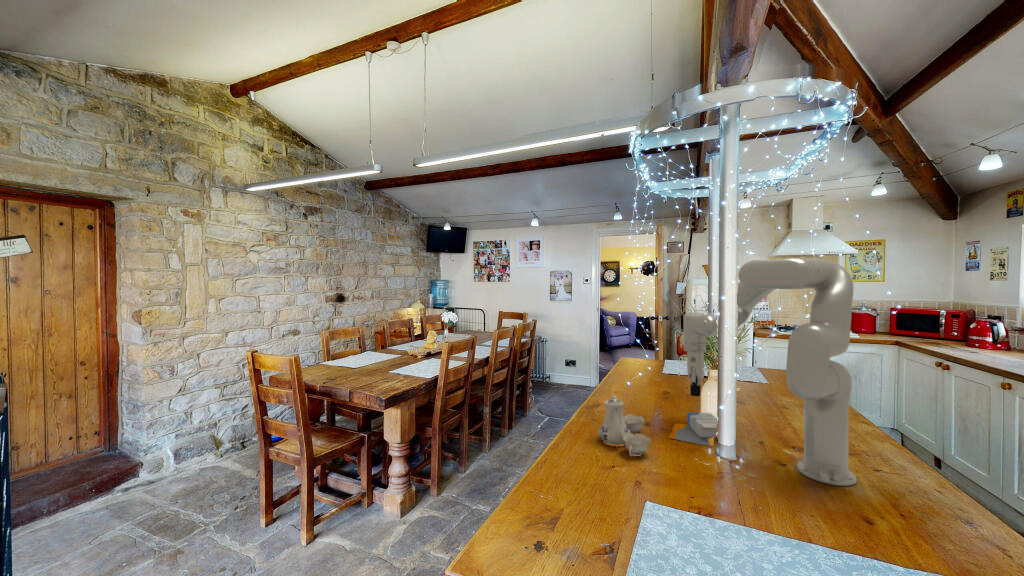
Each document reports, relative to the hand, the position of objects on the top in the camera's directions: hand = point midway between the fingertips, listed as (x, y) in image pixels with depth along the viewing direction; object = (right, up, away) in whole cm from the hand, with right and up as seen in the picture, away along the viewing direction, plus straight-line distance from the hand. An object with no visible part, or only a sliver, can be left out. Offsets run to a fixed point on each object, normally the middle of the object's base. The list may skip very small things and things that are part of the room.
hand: (695, 395), depth 143 cm
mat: (-5, -12, -7) cm, 14 cm away
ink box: (+1, -9, 0) cm, 9 cm away
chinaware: (-30, -13, -13) cm, 35 cm away
